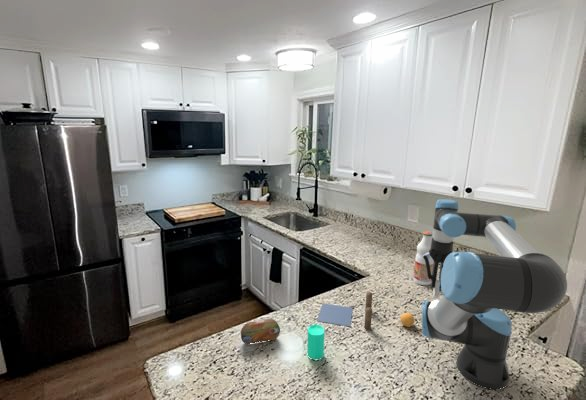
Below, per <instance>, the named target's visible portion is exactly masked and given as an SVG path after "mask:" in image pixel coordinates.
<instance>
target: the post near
mask: <svg viewBox="0 0 586 400" xmlns="http://www.w3.org/2000/svg"><path fill="white" fill-rule="evenodd" d="M364 310H365V309H364ZM364 312H365V313H364V326H363V327H364V328H365V329H366V331H371V330H370V329H372V318H373V317H372V316H373V308H372V307H371V308H370V307H366V310H365V311H364ZM364 328H363V329H364ZM365 329H364V330H365Z"/></svg>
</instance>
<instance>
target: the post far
mask: <svg viewBox="0 0 586 400" xmlns="http://www.w3.org/2000/svg"><path fill="white" fill-rule="evenodd" d="M365 294H366V295H365V308H364V310H366V307H370V308H372V305H373V302H372V301H373V293H372V292H371V291H367V292H366V293H365Z"/></svg>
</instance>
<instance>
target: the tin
mask: <svg viewBox="0 0 586 400" xmlns="http://www.w3.org/2000/svg"><path fill="white" fill-rule="evenodd" d="M280 333H281V328H280V325H279V323H278V322H277V320H275V319H274V318H273V319H272V318H266V319H261V320H254V321H249V322H247V323H245V324H244V325H242V327H241V330H240V339H241V341H242V342H243V344H245V345H247V346H249V345H248V344H250V343H255V342H259V341H260V342H262V341H268V340H273V341H275V340H276V339H278V337H279V336H280Z"/></svg>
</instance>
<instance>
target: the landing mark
mask: <svg viewBox="0 0 586 400" xmlns="http://www.w3.org/2000/svg"><path fill="white" fill-rule="evenodd" d="M352 315H353V307H350V306H342V305H336V304H329V303H322V304H321V307H320V311H319V313H318V316H317V321H316V322H319V321H320V323H325V322H326V324H331V323H333V325H337V324H338V325H337V326H343V325H345V326H344V327H349V326H350V327H351V324H352Z"/></svg>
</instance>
